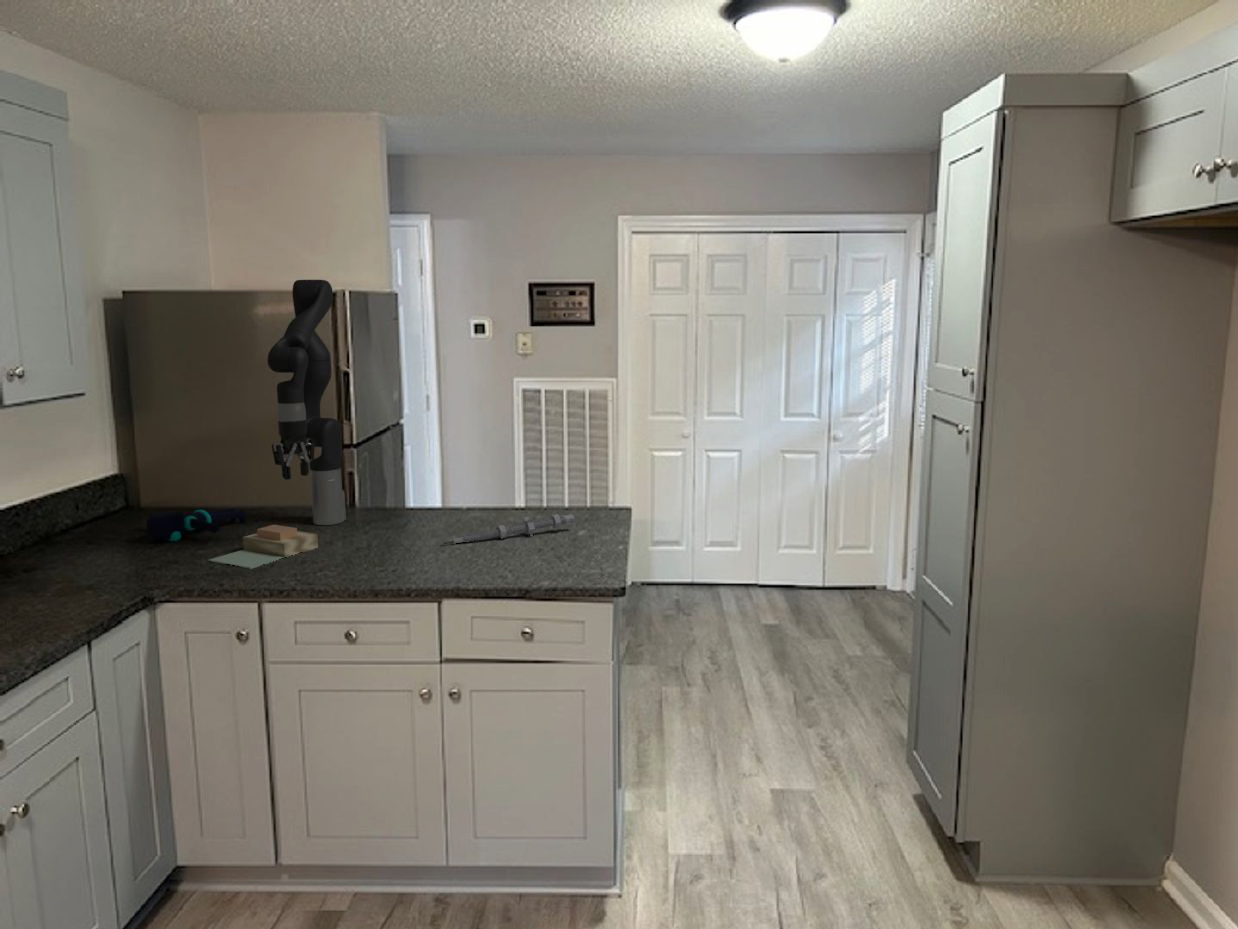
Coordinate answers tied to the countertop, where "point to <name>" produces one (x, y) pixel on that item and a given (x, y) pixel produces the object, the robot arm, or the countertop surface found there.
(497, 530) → the adjustable rod
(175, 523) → the toy
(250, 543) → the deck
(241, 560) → the mat
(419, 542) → the countertop surface
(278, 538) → the tile
